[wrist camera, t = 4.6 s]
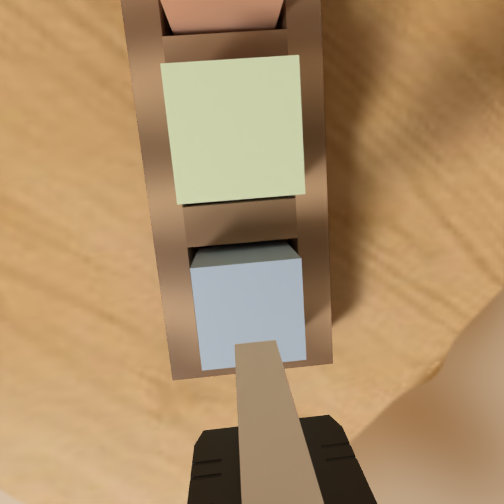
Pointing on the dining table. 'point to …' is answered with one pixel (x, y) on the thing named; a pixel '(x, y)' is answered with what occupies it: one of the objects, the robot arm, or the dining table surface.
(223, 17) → the salmon pink cube
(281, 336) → the pale blue-grey cube
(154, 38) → the wooden cube holder tray
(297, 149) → the pastel lime cube
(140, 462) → the dining table surface
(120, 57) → the dining table surface
